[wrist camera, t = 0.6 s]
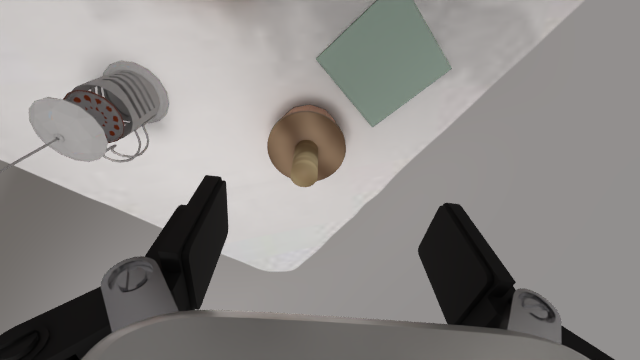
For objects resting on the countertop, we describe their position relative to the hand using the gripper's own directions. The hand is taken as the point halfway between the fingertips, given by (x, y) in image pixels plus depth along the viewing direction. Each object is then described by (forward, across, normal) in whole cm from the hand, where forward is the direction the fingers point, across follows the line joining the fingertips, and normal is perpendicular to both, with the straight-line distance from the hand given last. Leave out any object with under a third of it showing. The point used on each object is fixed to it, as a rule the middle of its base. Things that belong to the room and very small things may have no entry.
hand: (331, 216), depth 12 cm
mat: (+33, -9, -2) cm, 34 cm away
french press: (+34, +27, +9) cm, 45 cm away
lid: (+29, 0, +11) cm, 31 cm away
